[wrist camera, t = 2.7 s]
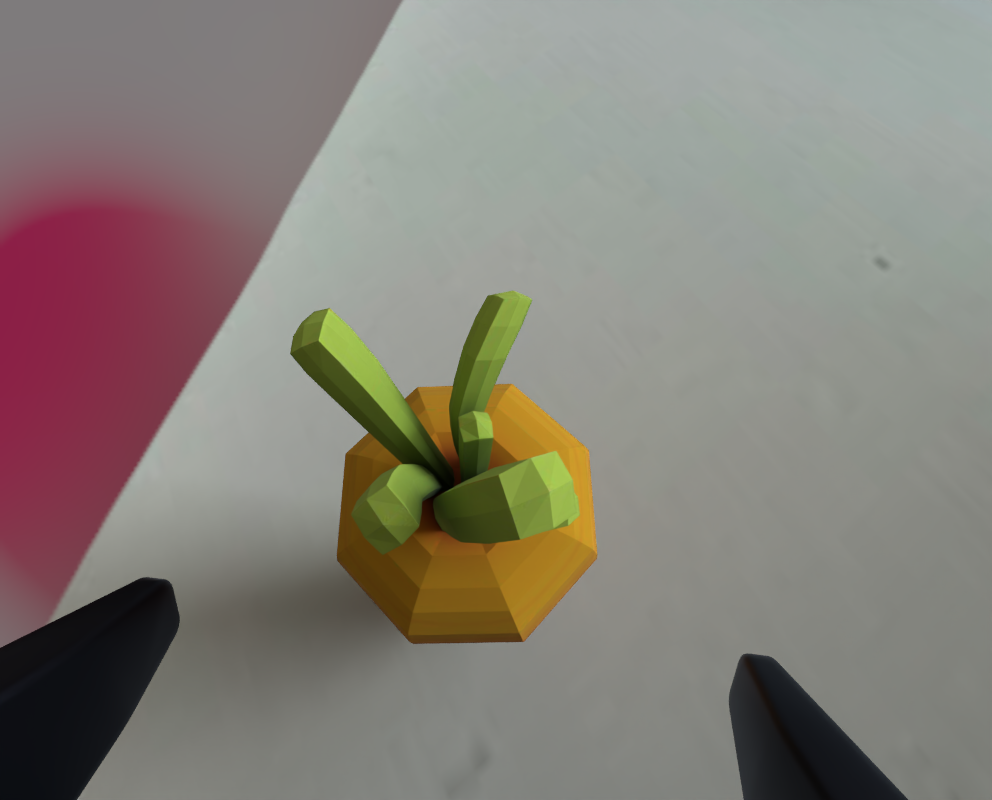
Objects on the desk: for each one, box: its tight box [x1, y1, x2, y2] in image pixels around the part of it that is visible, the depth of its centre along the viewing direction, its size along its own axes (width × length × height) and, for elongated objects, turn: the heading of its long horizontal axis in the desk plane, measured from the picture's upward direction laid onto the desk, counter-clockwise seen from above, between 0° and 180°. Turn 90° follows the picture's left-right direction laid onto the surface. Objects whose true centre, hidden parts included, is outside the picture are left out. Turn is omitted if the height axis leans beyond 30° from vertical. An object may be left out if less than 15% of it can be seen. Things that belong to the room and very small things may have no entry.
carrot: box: [290, 291, 597, 644], centre depth 13 cm, size 5×5×15 cm
